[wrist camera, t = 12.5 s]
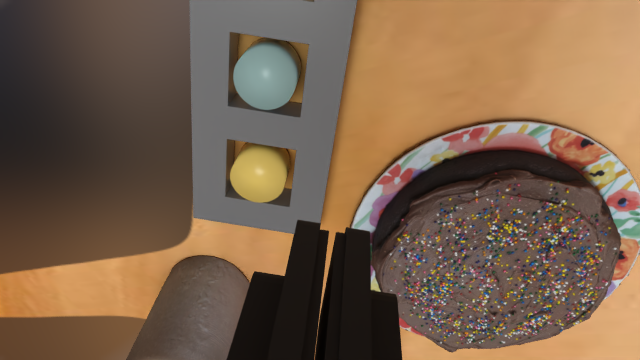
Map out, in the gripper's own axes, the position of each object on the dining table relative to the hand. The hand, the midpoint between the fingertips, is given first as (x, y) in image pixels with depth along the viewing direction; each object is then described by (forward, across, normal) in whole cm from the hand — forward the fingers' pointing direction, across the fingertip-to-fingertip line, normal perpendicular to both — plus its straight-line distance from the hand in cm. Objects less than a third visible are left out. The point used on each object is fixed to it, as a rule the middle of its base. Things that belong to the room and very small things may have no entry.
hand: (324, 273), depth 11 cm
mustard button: (+29, +6, +14) cm, 32 cm away
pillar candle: (+29, +11, +32) cm, 45 cm away
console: (+29, +6, +5) cm, 30 cm away
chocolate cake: (+30, -17, +20) cm, 40 cm away
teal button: (+29, +6, +5) cm, 30 cm away
